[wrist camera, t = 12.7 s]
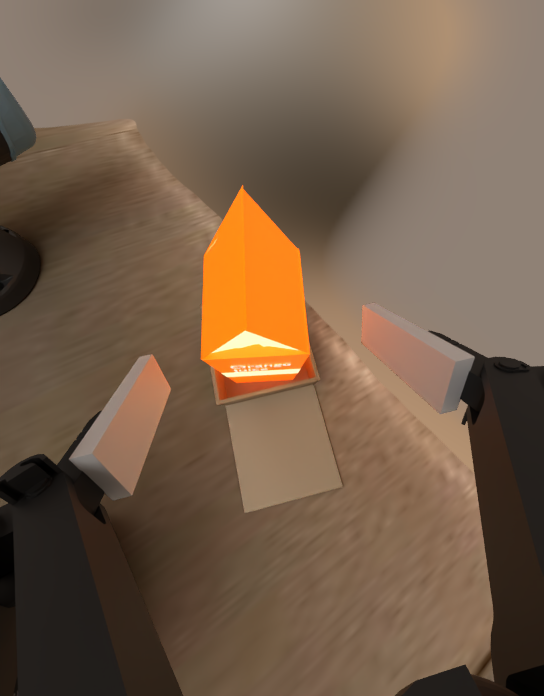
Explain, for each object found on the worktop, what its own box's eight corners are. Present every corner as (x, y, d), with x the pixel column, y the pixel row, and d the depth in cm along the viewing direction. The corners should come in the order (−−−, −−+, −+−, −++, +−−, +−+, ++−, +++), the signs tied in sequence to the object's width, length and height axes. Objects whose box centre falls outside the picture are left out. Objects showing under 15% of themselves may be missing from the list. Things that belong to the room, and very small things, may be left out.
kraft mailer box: (210, 320, 32) (199, 304, 27) (289, 302, 33) (292, 284, 28) (245, 511, 26) (238, 535, 21) (341, 485, 27) (356, 503, 22)
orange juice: (289, 318, 32) (311, 179, 12) (294, 380, 29) (331, 328, 10) (234, 321, 32) (171, 187, 12) (235, 383, 29) (159, 337, 10)
